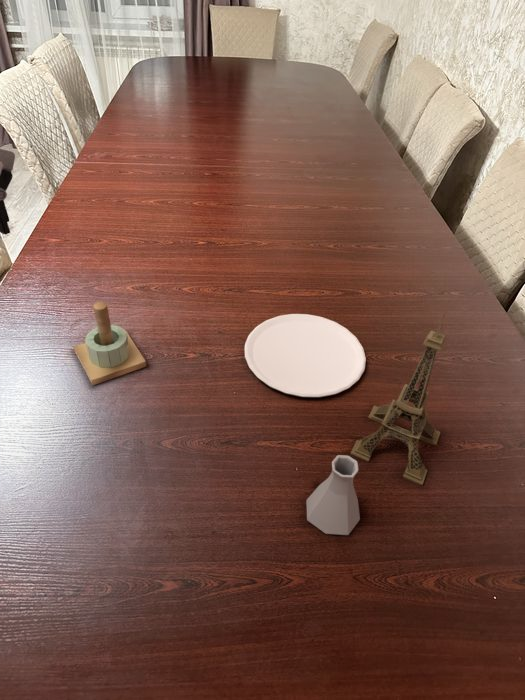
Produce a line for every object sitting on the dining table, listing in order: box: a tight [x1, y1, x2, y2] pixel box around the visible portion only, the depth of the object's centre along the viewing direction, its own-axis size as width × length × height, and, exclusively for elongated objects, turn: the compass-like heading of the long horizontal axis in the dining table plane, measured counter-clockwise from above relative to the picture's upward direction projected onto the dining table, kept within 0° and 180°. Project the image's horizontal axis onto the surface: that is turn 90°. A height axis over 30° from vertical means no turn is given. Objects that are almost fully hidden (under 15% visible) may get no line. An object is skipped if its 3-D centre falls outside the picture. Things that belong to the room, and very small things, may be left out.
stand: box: [73, 301, 147, 386], centre depth 83 cm, size 9×9×11 cm
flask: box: [305, 454, 361, 536], centre depth 65 cm, size 7×7×10 cm
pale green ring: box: [84, 324, 130, 368], centre depth 84 cm, size 6×6×4 cm
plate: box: [244, 313, 367, 399], centre depth 89 cm, size 21×21×1 cm
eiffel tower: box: [349, 310, 447, 487], centre depth 68 cm, size 11×11×25 cm
